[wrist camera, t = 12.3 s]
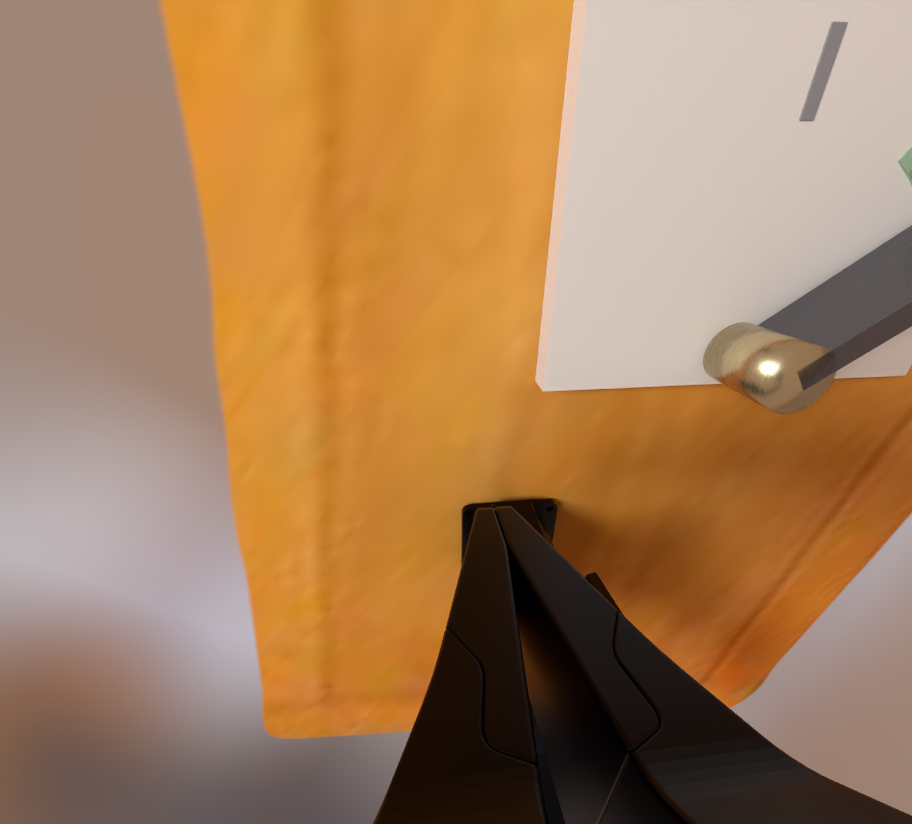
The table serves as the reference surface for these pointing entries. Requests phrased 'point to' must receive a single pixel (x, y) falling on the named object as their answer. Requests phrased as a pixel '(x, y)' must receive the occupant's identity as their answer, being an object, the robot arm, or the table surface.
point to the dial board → (719, 177)
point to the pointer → (818, 331)
